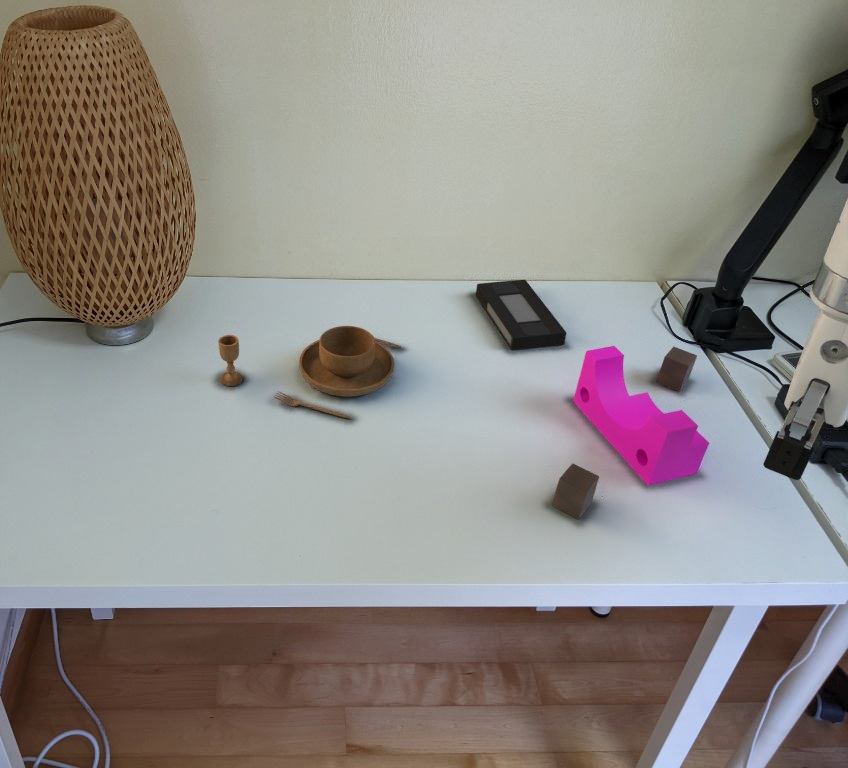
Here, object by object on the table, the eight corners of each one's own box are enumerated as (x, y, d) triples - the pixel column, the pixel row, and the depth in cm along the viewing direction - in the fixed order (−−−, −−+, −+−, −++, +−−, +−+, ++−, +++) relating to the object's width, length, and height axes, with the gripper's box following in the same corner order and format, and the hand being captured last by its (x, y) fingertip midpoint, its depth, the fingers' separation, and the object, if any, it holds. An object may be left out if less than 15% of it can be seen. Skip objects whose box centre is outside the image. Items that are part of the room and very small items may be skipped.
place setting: (366, 427, 90) (368, 386, 86) (213, 385, 95) (210, 346, 92) (411, 347, 103) (415, 309, 99) (275, 315, 108) (273, 278, 105)
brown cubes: (688, 381, 98) (697, 355, 95) (578, 520, 79) (586, 492, 76) (664, 371, 99) (673, 346, 97) (551, 505, 80) (559, 478, 78)
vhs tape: (511, 350, 102) (513, 338, 101) (474, 295, 114) (476, 283, 112) (563, 345, 104) (566, 332, 102) (522, 291, 115) (525, 279, 114)
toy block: (696, 473, 84) (718, 421, 80) (648, 485, 83) (667, 432, 78) (617, 392, 96) (632, 342, 91) (573, 401, 94) (586, 350, 90)
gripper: (897, 347, 57) (815, 513, 67) (934, 266, 68) (858, 420, 78) (789, 314, 61) (726, 475, 71) (840, 243, 72) (779, 392, 82)
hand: (795, 446), depth 75 cm, fingers open, 9 cm apart
